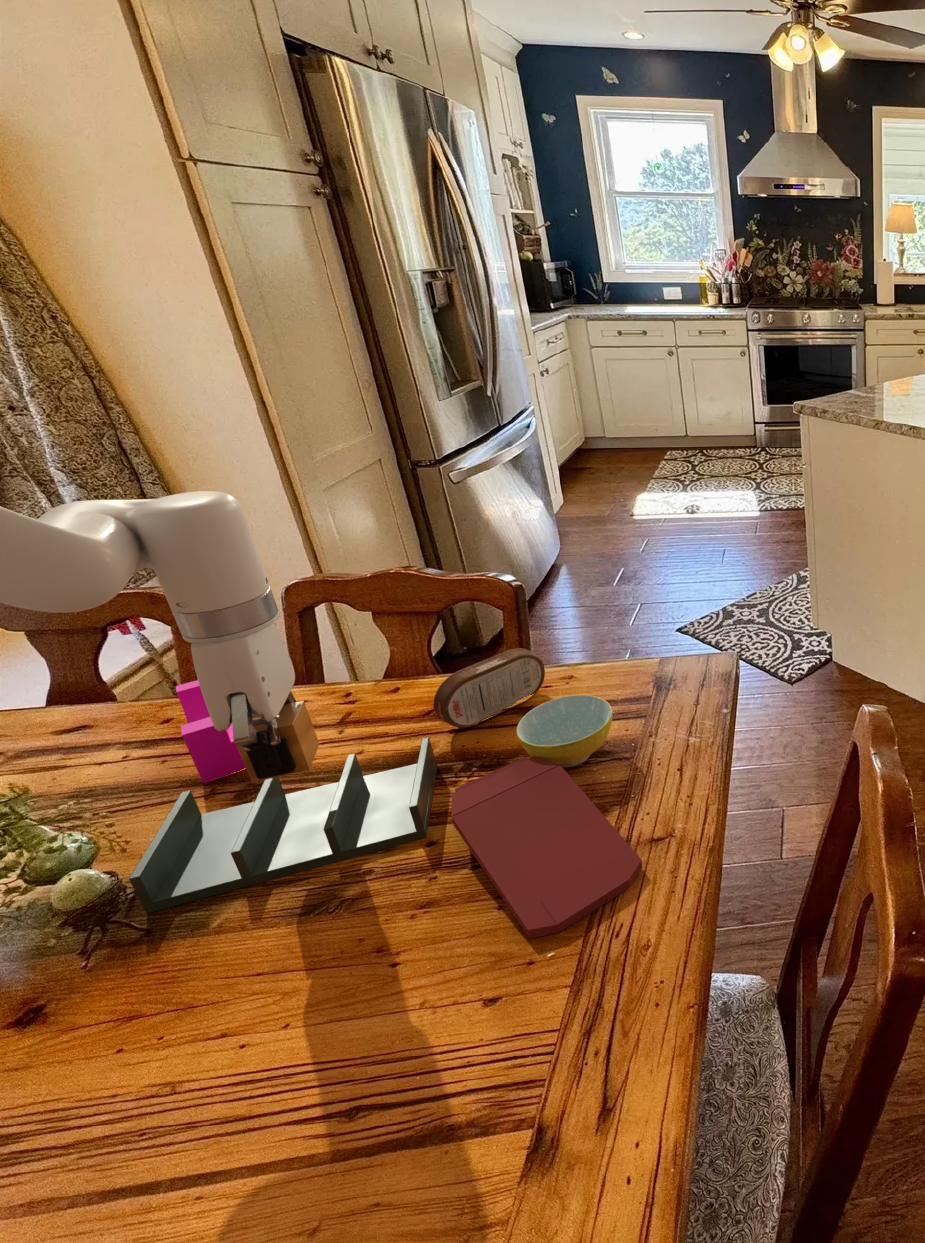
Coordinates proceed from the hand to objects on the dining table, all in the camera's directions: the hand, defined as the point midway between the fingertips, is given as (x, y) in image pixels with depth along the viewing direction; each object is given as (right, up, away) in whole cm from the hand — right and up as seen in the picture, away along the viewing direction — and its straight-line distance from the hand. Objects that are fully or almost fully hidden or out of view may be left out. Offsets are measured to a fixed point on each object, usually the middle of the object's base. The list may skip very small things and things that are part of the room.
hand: (284, 757), depth 81 cm
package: (0, -1, 0) cm, 1 cm away
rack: (0, -10, +4) cm, 11 cm away
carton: (+28, -11, +2) cm, 30 cm away
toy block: (-23, -4, +18) cm, 29 cm away
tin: (+9, -1, +27) cm, 28 cm away
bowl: (+24, -5, +17) cm, 30 cm away
